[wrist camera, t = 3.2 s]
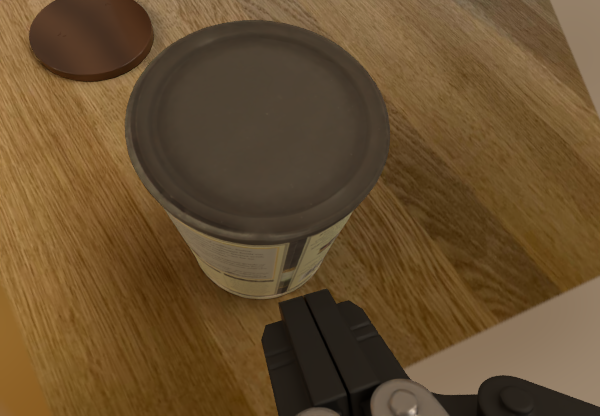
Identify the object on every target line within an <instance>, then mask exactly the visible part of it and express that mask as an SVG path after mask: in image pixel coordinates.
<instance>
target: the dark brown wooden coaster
mask: <svg viewBox="0 0 600 416" xmlns="http://www.w3.org/2000/svg"><path fill="white" fill-rule="evenodd" d="M153 38H154V33H153V27H152V24H151V21H150V18H149V16H148V14H147V13H146V11H145V10H144V9H143V8H142V7H141V6H140V5H139V4H138V3H137V2H135V1H134V0H55V1H53V2H52V3H50V4H49V5H47V6H46V7H45V8H44V9H42V10H41V11H40V13H39V14H38V15H37V16H36V18H35V19H34V21H33V23H32V25H31V28H30V33H29V40H30V45H31V48H32V50H33V52H34V53H35V55H36V56H37V58H38V59H39V60H40V62H41V63H42V64H43V65H44V66H45V67H46V68H47V69H49V70H50V71H52V72H53V73H55V74H57V75H59V76H62V77H65V78H68V79H72V80H78V81H100V80H105V79H110V78H113V77H117V76H119V75H122V74H124V73H126V72H128V71H130V70H131V69H133V68H134V67H136V66H137V65H138V64H139V63H141V62H142V61H143V60H144V58H145V57H146V56H147V54H148V53H149V51H150V49H151V47H152V44H153Z"/></svg>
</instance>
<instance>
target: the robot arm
mask: <svg viewBox="0 0 600 416" xmlns="http://www.w3.org/2000/svg"><path fill="white" fill-rule="evenodd" d="M278 304H279V309H280V314H281V319H282V321H278V322H275V323H272V324H268V325H266V326H265V329H264V333H263V336H262V340H261V341H262V345H263V349H264V354H265V358H266V362H267V367H268V371H269V375H270V380H271V384H272V388H273V393H274V397H275V402H276V406H277V410H278V415H279V416H600V407H598V406H595V405H593V404H590V403H587V402H584V401H582V400H579V399H576V398H573V397H570V396H568V395H565V394H562V393H559V392H557V391H554V390H551V389H548V388H546V387H543V386H540V385H537V384H534V383H532V382H529V381H526V380H523V379H520V378H517V377H512V376H504V375H502V376H495V377H491V378H489V379H487V380H485V381H484V382H483V383H482V384H481V386H480V388H479V390H478V395H441V394H436V393H432V392H430V391H429V390H428V389H426V388H425V387H424V386H422V385H421V384H419V383H417V382H414V381H412V380H411V379H410V378H409V377H408V376H407V374H406V373H405V371H404V370H403V368H402V367H401V365H400V364H399V362H398V361H397V360H396V358H395V357H394V355H393V354H392V352H391V351H390V349H389V348H388V346H387V345H386V343H385V342H384V340H383V339H382V337H381V336H380V334H378V331H377V330H376V328H375V327H374V326H373V324H371V321H370V320H369V318H368V317H367V315H366V314H365V312H364V311H363V309H362V308H360V307H358V306H357V305H355V304H354V303H352V302H351V301H349V300H348V301H345V302H341V303H338V304H336V303H335V301H334V299H333V297H332V296H331V294H330V292H329V291H328V289H323V290H320V291H317V292H313V293H310V294H306V295H304V296H303V297H302V296H300V297H296V298H293V299H289V300H286V301H283V302H279V303H278Z"/></svg>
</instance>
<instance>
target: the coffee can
mask: <svg viewBox="0 0 600 416" xmlns="http://www.w3.org/2000/svg"><path fill="white" fill-rule="evenodd" d="M125 138H126V143H127V149H128V154H129V157H130V160H131V162H132V165H133V167H134V169H135V171H136V173H137V175H138V176H139V178H140V180H141V181H142V183H143V184H144V186H145V187H146V189H147V190H148V191H149V192H150V194H151V195H152V196H153V197H154V198H155V199H156V200H157V201H158V202H159V203H160V205H161V206H162V207H163V208H164V209H165V211H166V212H167V214H168V216H169V217H170V219H171V220H172V222H173V223H174V225H175V226H176V228H177V229H178V231H179V232H180V234H181V235H182V237H183V239H184V240H185V242H186V243H187V244H188V246H189V247H190V249H191V251H192V252H193V254H194V255H195V257H196V259H197V261H198V264H199V265H200V267H201V269H202V270H203V271H204V273H205V274H206V275H207V276H208V277H209V278H210V279H211V280H212V281H213V282H214V283H215V284H217V285H218V286H219V287H221V288H222V289H224V290H226V291H228V292H230V293H232V294H235V295H238V296H241V297H244V298H253V299H270V298H275V297H279V296H282V295H285V294H288V293H290V292H292V291H294V290H296V289H297V288H300V287H301V286H302V285H303V284H304V283H306V282H307V281H308V280H309V279H310V278H311V277H312V276H313V275H314V273H315V272H316V271H317V269H318V268H319V266H320V265H321V263H322V261H323V259H324V257H325V255H326V253H327V252H328V250H329V249H330V247H331V245H332V244H333V242H334V240H335V239H336V237H337V236H338V234H339V233H340V231H341V229H342V228H343V227H344V225H345V224H346V222H347V221H348V219H349V217H350V215H351V214H352V212H353V210H354V209H356V207H357V206H358V205H359V204H360V203H361V202H362V201H363V200H364V199H365V197H366V196H367V195H368V194H369V192H370V191H371V190H372V189H373V187H374V186H375V184H376V183H377V181H378V179H379V177H380V175H381V173H382V170H383V168H384V166H385V163H386V159H387V155H388V151H389V142H390V126H389V118H388V113H387V109H386V105H385V102H384V100H383V97H382V95H381V92H380V90H379V88H378V87H377V85H376V83H375V82H374V81H373V79H372V78H371V76H370V75H369V74H368V72H367V71H366V70H365V69H364V67H363V66H362V65H361V64H360V63H359V62H358V61H357V60H356V59H355V58H354V57H352V56H351V55H350V54H349V53H348V52H347V51H345V50H344V49H343V48H342V47H340V46H339V45H337V44H336V43H334V42H332V41H331V40H329V39H327V38H325V37H323V36H321V35H319V34H317V33H314V32H312V31H309V30H307V29H304V28H300V27H297V26H293V25H289V24H285V23H277V22H273V21H263V20H243V21H234V22H227V23H222V24H218V25H214V26H210V27H206V28H203V29H201V30H198V31H196V32H193V33H191V34H189V35H187V36H185V37H183V38H181V39H179V40H178V41H176V42H174V43H173V44H171V45H170V46H168V47H167V48H166V49H164V50H163V51H162V52H161V53H160V54H159V55H157V56H156V57H155V58H154V59H153V60H152V61H151V63H150V64H149V65H148V66H147V67H146V69H145V70H144V72H143V73H142V74H141V76H140V77H139V79H138V80H137V82H136V84H135V86H134V88H133V91H132V93H131V95H130V99H129V102H128V105H127V110H126V117H125Z"/></svg>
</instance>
